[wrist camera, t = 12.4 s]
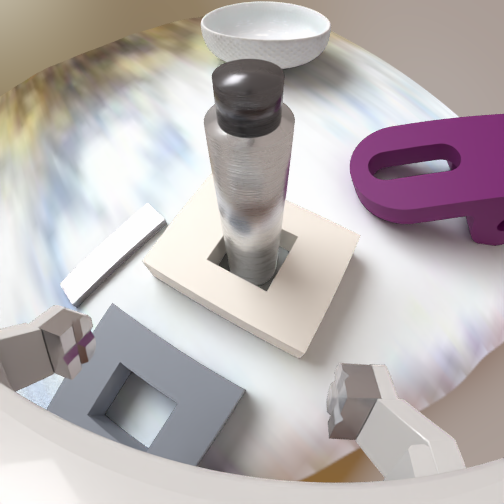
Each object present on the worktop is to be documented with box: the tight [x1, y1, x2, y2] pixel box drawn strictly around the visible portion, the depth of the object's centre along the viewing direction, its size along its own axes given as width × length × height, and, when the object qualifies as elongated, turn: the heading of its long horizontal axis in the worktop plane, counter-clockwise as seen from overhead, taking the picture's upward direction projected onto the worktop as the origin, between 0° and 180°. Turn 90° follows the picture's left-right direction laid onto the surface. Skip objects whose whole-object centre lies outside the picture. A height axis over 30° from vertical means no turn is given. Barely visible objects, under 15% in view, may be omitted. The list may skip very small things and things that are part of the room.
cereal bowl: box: [201, 2, 331, 69], centre depth 33 cm, size 17×17×7 cm
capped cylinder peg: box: [204, 59, 295, 286], centre depth 16 cm, size 3×3×15 cm
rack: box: [142, 173, 361, 358], centre depth 21 cm, size 12×9×2 cm
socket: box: [47, 303, 246, 466], centre depth 16 cm, size 10×10×2 cm
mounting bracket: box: [350, 114, 504, 246], centre depth 24 cm, size 9×8×18 cm
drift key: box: [60, 204, 167, 307], centre depth 23 cm, size 10×2×1 cm, turn 137°
